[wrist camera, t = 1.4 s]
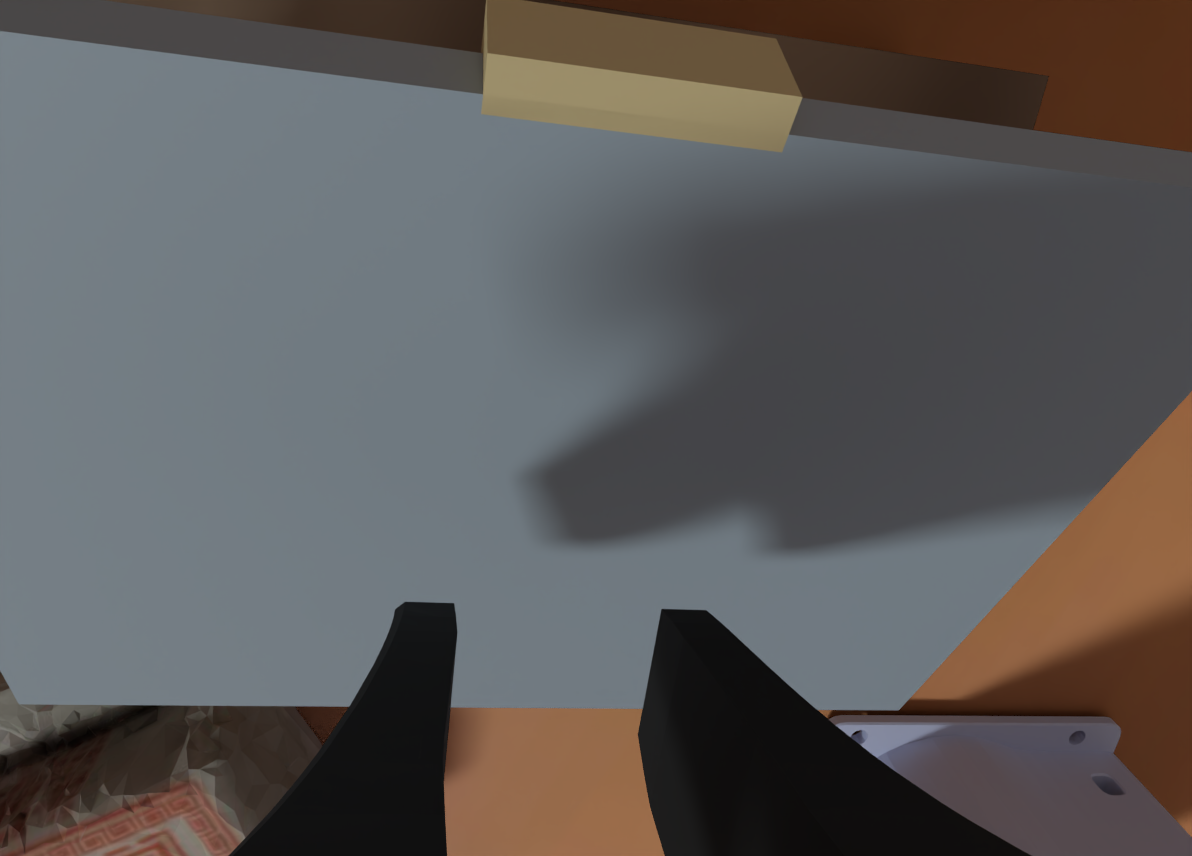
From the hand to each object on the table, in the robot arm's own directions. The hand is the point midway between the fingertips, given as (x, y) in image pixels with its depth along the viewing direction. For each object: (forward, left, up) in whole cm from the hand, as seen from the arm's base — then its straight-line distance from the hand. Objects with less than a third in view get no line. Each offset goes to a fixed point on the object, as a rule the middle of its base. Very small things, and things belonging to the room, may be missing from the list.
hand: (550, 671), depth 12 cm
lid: (0, -2, -3) cm, 4 cm away
